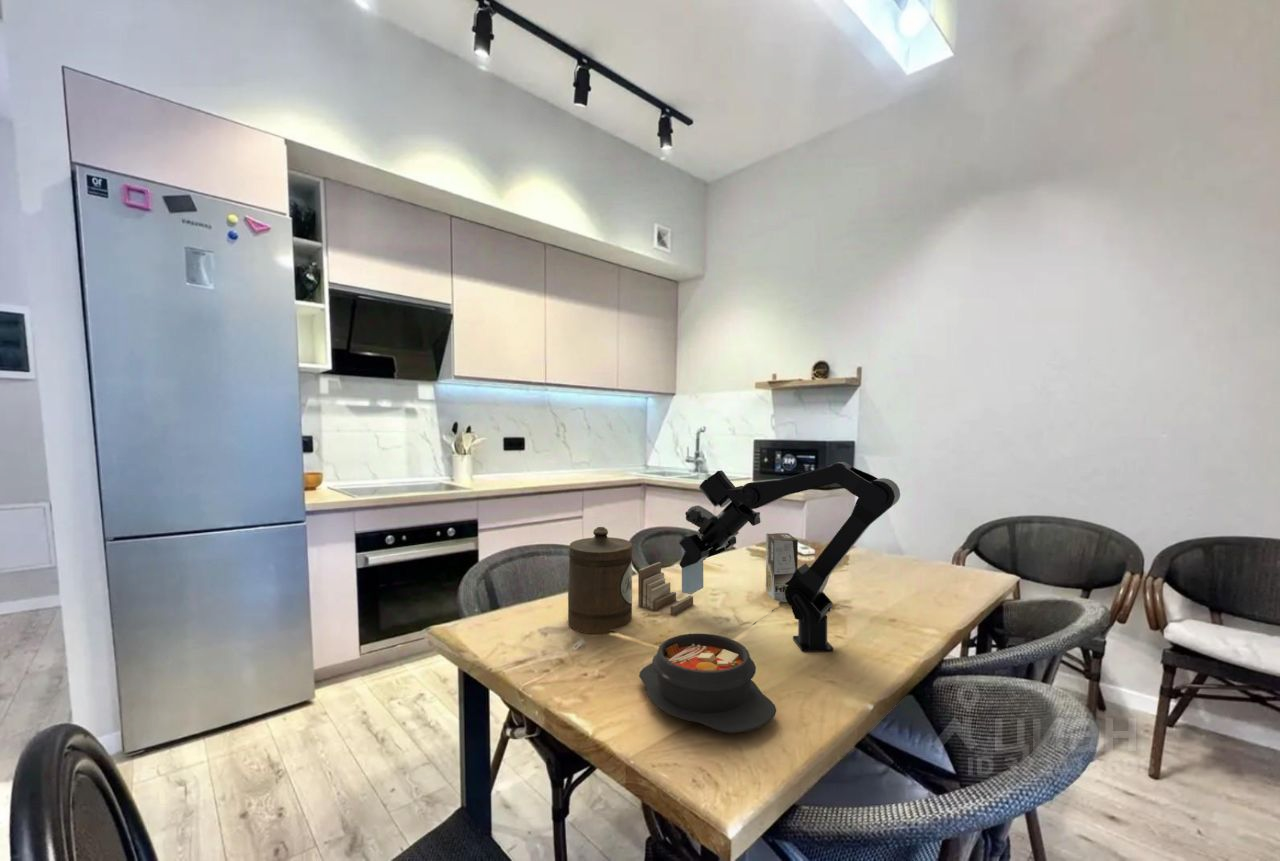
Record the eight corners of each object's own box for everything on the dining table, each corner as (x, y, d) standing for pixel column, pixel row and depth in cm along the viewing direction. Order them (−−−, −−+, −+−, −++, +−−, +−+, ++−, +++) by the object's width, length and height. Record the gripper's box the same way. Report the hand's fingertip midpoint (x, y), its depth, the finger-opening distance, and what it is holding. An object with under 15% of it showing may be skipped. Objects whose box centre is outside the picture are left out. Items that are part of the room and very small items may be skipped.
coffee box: (798, 602, 130) (798, 540, 130) (773, 602, 130) (773, 539, 130) (788, 591, 139) (789, 532, 139) (765, 590, 140) (765, 532, 139)
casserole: (614, 687, 88) (614, 639, 88) (693, 658, 99) (693, 615, 99) (718, 764, 68) (718, 702, 68) (802, 716, 79) (802, 663, 79)
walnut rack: (694, 607, 126) (694, 568, 126) (675, 619, 119) (675, 577, 119) (658, 599, 133) (658, 561, 133) (638, 609, 126) (638, 569, 126)
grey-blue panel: (703, 587, 123) (703, 540, 123) (691, 594, 118) (690, 545, 118) (694, 585, 125) (694, 539, 125) (681, 592, 120) (681, 543, 120)
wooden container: (641, 628, 114) (641, 530, 113) (577, 639, 108) (577, 536, 108) (619, 606, 127) (619, 519, 127) (561, 614, 122) (561, 523, 122)
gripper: (724, 491, 127) (686, 530, 133) (686, 500, 112) (645, 544, 118) (754, 526, 122) (713, 564, 129) (719, 540, 107) (674, 583, 114)
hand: (687, 563), depth 122 cm, fingers closed on grey-blue panel, 6 cm apart
